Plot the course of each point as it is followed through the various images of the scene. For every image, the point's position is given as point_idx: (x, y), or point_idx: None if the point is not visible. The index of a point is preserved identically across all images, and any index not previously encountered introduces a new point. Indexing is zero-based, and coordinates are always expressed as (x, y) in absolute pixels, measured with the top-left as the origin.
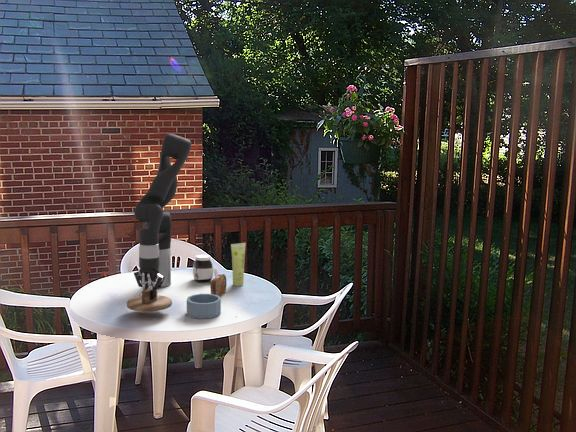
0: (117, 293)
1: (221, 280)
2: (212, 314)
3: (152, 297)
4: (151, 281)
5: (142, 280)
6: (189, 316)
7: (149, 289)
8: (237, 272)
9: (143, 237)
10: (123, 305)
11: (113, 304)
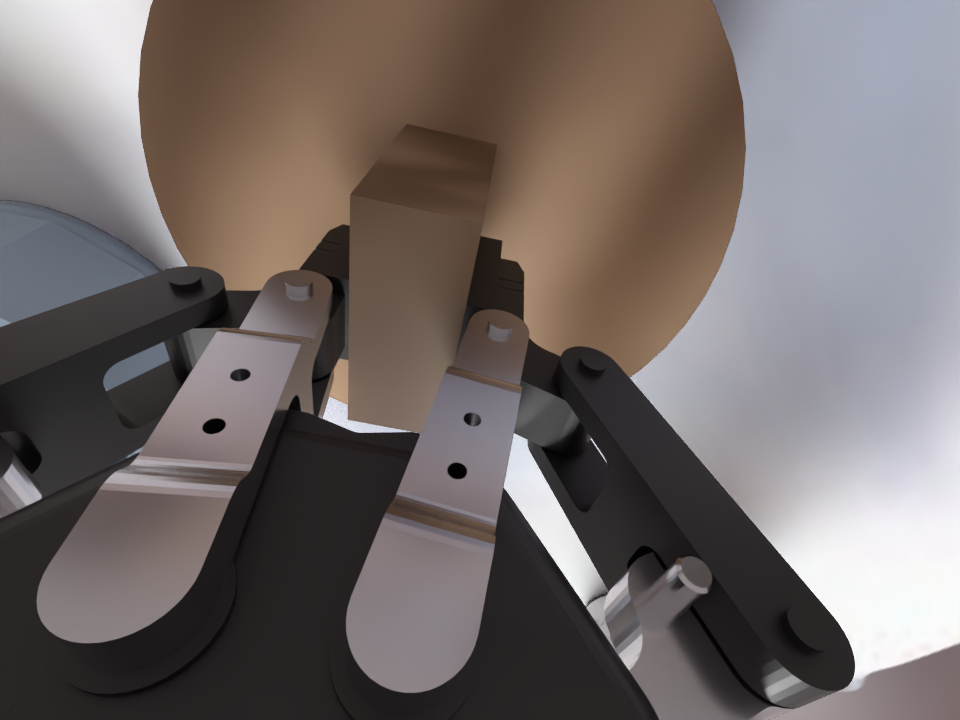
0: (879, 502)
1: None
2: None
3: (346, 235)
4: (190, 399)
5: (492, 429)
6: (95, 228)
7: (397, 333)
8: None
9: None
10: (790, 320)
11: (896, 319)
